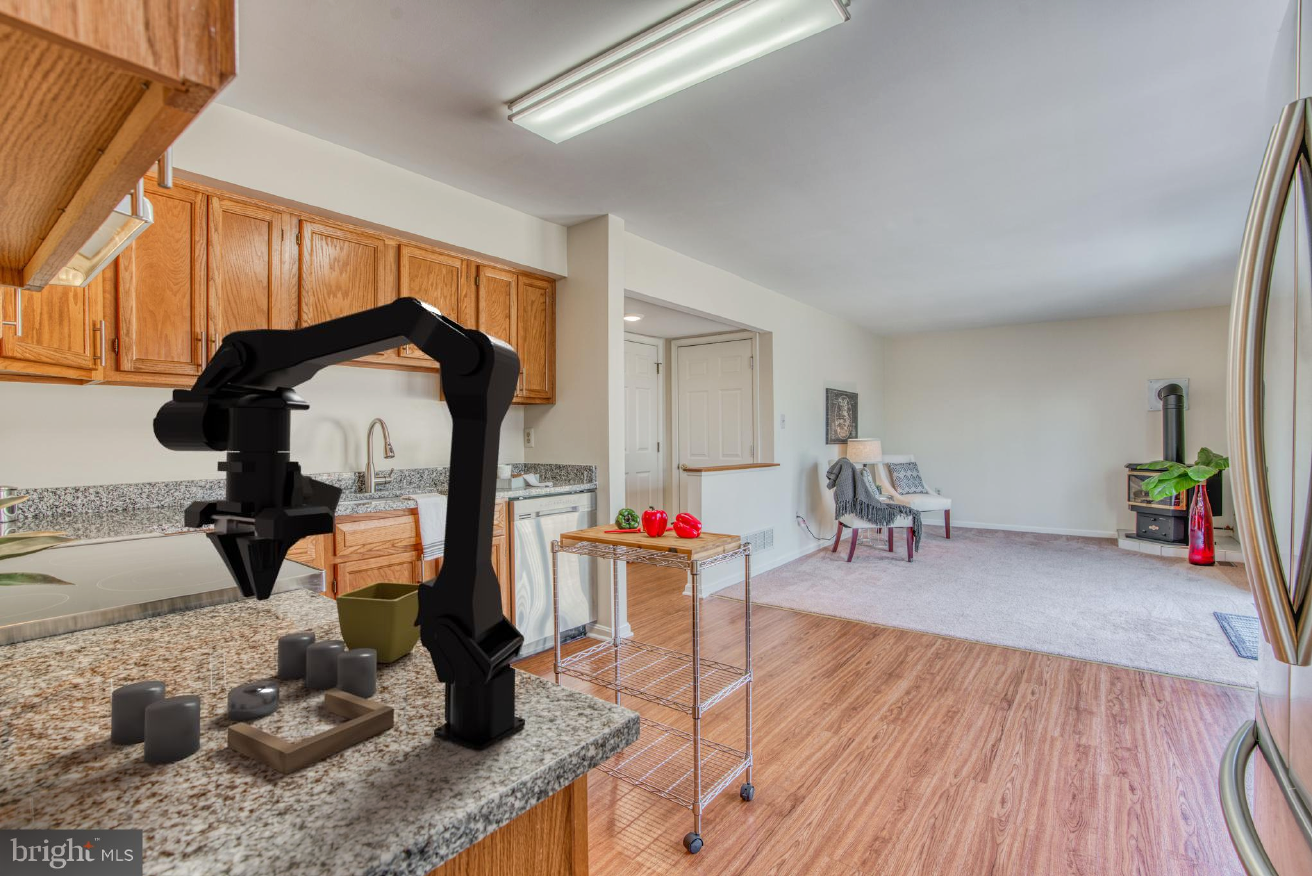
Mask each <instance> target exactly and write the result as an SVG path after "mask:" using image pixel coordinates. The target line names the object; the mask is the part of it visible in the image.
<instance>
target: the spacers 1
mask: <svg viewBox="0 0 1312 876" xmlns="http://www.w3.org/2000/svg"><path fill="white" fill-rule="evenodd" d="M166 687H167V686H166V682H165V681H162V680H144V681H138V682H134V683H130V684H127V685H123V686H121V687H118V688H116V689H114V690H113V691H112V692H111V715H110V717H111V719H110V721H111V722H110V726H111V727H110V743H111V744H113V745H116V746H117V745H118V746H121V745H122V746H123V745H124V746H125V745H133V744H137V743H141V742H143V743H144V745H143V761H144V763H145V764H148V765H164V764H169V763H174V762H178V761H180V760H181V761H182V759H183V760H184V759H185V758H188V757H191V756H192V755H194V754H195V753H197V752H198V751H199V749H200V742H201V741H200V740H201V705H202V704H201V697H200V696H199V695H196V694H181V695H175V696H171V697H170V696H169V697H167V698H166V691H167V690H166Z"/></svg>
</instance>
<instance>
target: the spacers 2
mask: <svg viewBox="0 0 1312 876" xmlns="http://www.w3.org/2000/svg"><path fill="white" fill-rule="evenodd" d="M345 650H346V644H345V642H344V640H340V639H329V640H328V639H327V640H321V641H316V633H315V632H308V631H307V632H306V631H305V632H304V631H303V632H294V633H289V634H286V635H282V636H281V637H278V640H277V678H278V679H279V680H284V681H285V680H286V681H287V680H291V681H292V680H298V679H303V678H305V688H307V689H308V690H313V691H319V690H327V689H331V688H334V687H337V688H336V689H337V690H340V691H343V692H346V693H349V694H352V695H355V696H358V697H361V698H364V699H367V698H369V697H372V696H373V695H374V694H375V693H376V692H377V662H376V657H377V651H376V650H374V649H370V648H360V649H353V650H349V649H348V650H346V651H345Z"/></svg>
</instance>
